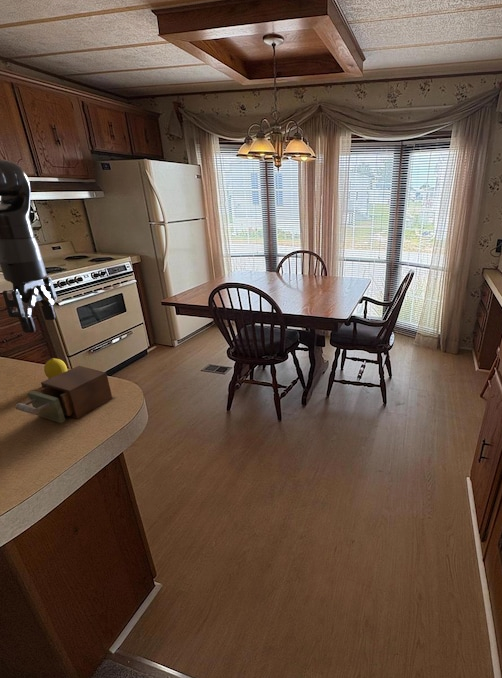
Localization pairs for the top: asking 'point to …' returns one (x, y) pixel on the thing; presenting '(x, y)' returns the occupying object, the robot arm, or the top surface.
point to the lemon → (54, 367)
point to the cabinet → (82, 388)
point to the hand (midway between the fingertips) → (40, 325)
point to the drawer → (48, 404)
